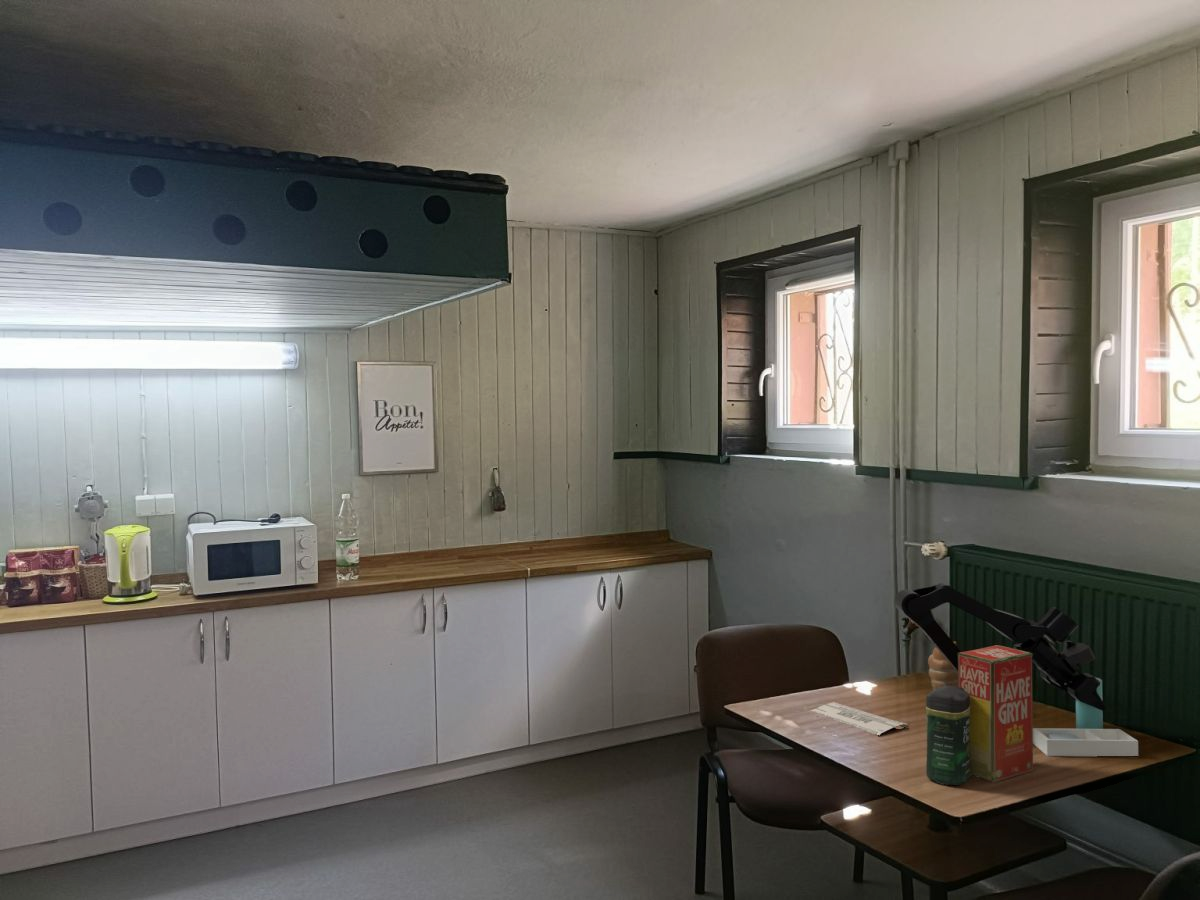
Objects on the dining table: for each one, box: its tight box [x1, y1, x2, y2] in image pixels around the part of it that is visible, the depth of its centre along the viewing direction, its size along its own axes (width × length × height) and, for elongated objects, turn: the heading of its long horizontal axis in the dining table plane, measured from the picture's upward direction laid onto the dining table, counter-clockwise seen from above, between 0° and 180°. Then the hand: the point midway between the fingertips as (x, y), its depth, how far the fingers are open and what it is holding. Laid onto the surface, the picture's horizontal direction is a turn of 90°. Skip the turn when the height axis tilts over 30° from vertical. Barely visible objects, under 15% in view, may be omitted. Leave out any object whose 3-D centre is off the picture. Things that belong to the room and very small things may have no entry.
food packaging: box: [958, 644, 1034, 783], centre depth 185 cm, size 13×9×25 cm
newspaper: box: [810, 701, 908, 736], centre depth 220 cm, size 23×12×2 cm, turn 34°
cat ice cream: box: [927, 640, 958, 690], centre depth 226 cm, size 9×8×18 cm
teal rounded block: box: [1075, 676, 1104, 729], centre depth 206 cm, size 6×6×13 cm
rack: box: [1033, 727, 1139, 757], centre depth 195 cm, size 19×8×4 cm, turn 85°
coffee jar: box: [925, 685, 972, 786], centre depth 181 cm, size 10×8×19 cm
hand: (1095, 703), depth 206 cm, fingers open, 8 cm apart
